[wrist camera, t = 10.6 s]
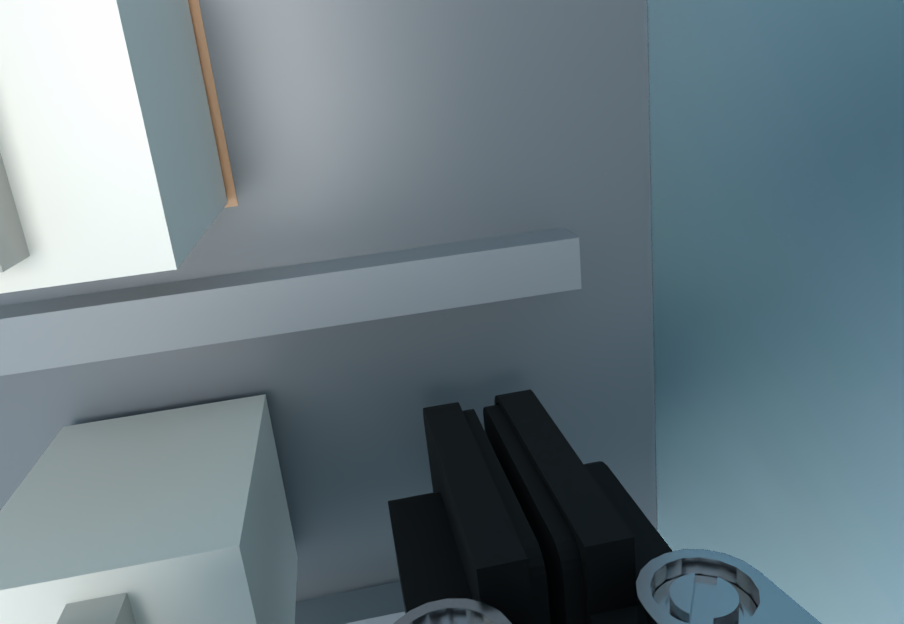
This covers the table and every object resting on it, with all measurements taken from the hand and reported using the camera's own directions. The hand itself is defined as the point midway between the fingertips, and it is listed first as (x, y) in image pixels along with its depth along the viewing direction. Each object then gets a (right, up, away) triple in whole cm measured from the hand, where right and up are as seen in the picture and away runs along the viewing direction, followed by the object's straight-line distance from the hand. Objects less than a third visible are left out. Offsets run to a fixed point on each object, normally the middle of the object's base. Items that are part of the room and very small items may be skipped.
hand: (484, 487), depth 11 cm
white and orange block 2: (-5, +5, -1) cm, 8 cm away
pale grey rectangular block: (-5, 0, 0) cm, 5 cm away
